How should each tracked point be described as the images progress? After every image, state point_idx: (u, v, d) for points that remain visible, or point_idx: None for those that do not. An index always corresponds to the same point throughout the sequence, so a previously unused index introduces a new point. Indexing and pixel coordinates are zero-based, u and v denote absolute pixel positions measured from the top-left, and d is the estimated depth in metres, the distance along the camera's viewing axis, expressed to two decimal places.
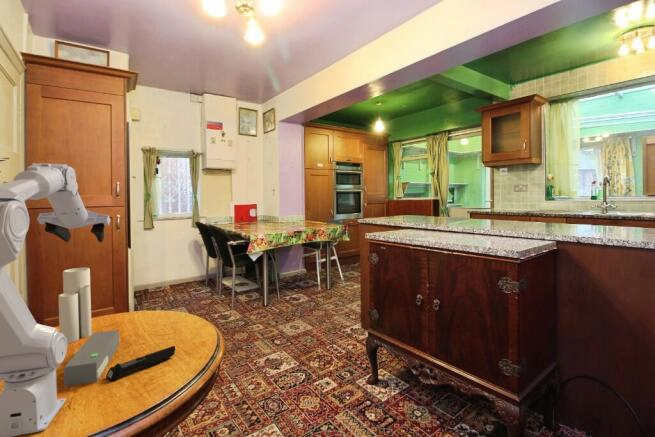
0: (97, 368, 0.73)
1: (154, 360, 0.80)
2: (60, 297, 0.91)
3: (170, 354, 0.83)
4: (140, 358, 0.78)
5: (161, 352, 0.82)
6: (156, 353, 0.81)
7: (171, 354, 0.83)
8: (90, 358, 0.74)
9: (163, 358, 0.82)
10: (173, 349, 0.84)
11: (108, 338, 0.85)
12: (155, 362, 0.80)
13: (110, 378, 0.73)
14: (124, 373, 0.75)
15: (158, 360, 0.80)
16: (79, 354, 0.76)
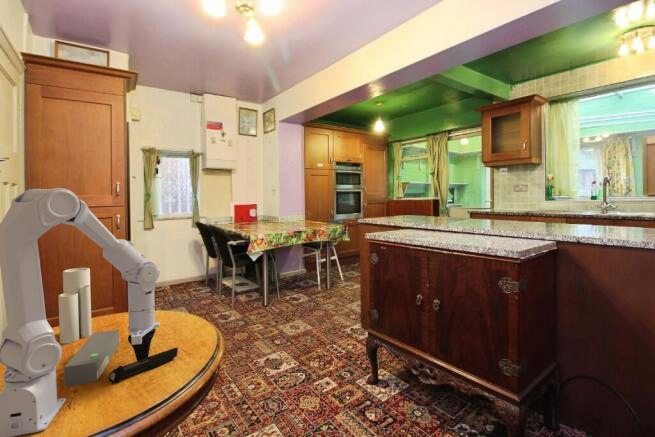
0: (97, 368, 0.73)
1: (156, 362, 0.79)
2: (60, 297, 0.91)
3: (173, 356, 0.82)
4: (143, 360, 0.78)
5: (164, 354, 0.81)
6: (159, 355, 0.80)
7: (174, 356, 0.83)
8: (90, 358, 0.74)
9: (166, 360, 0.81)
10: (176, 351, 0.84)
11: (108, 338, 0.85)
12: (158, 364, 0.79)
13: (113, 380, 0.72)
14: (127, 375, 0.74)
15: (160, 362, 0.80)
16: (79, 354, 0.76)
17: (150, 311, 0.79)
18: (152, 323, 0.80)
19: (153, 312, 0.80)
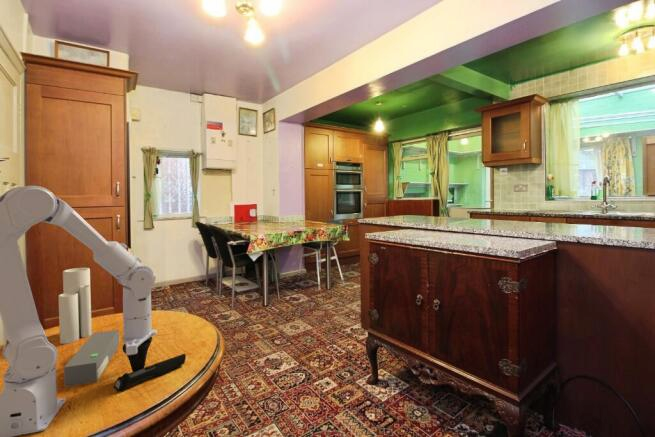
0: (97, 368, 0.73)
1: (163, 369, 0.76)
2: (60, 297, 0.91)
3: (180, 363, 0.79)
4: (149, 367, 0.74)
5: (171, 360, 0.78)
6: (166, 362, 0.77)
7: (181, 363, 0.79)
8: (90, 358, 0.74)
9: (173, 367, 0.77)
10: (183, 357, 0.80)
11: (108, 338, 0.85)
12: (165, 371, 0.76)
13: (118, 389, 0.69)
14: (132, 383, 0.71)
15: (168, 369, 0.76)
16: (79, 354, 0.76)
17: (146, 318, 0.74)
18: (148, 331, 0.75)
19: (150, 319, 0.75)
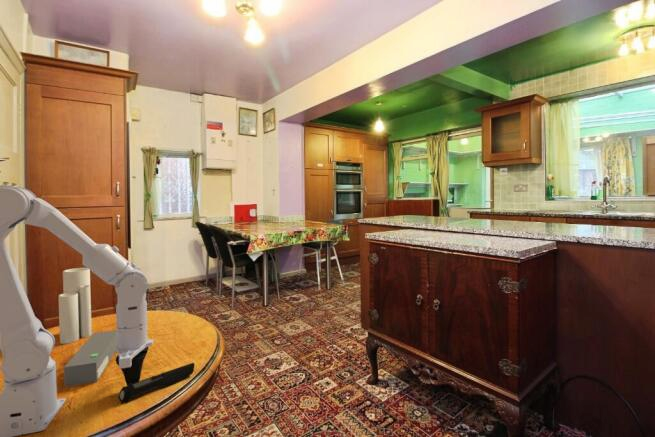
0: (97, 368, 0.73)
1: (170, 379, 0.71)
2: (60, 297, 0.91)
3: (188, 372, 0.74)
4: (155, 377, 0.70)
5: (179, 370, 0.73)
6: (173, 371, 0.73)
7: (190, 372, 0.75)
8: (90, 358, 0.74)
9: (181, 377, 0.73)
10: (192, 367, 0.76)
11: (108, 338, 0.85)
12: (172, 382, 0.71)
13: (121, 400, 0.65)
14: (137, 394, 0.67)
15: (175, 379, 0.72)
16: (79, 354, 0.76)
17: (142, 328, 0.68)
18: (144, 341, 0.69)
19: (145, 328, 0.70)
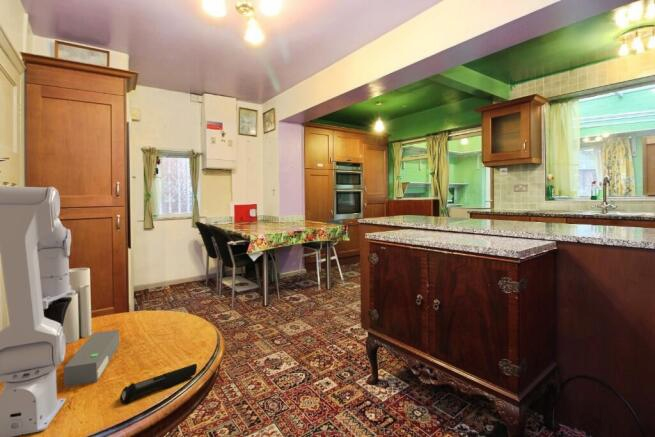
0: (97, 368, 0.73)
1: (172, 380, 0.71)
2: None
3: (191, 373, 0.74)
4: (157, 377, 0.70)
5: (181, 371, 0.73)
6: (175, 372, 0.72)
7: (192, 373, 0.74)
8: (90, 358, 0.74)
9: (183, 378, 0.72)
10: (194, 368, 0.75)
11: (108, 338, 0.85)
12: (174, 382, 0.71)
13: (123, 400, 0.65)
14: (139, 395, 0.66)
15: (177, 380, 0.71)
16: (79, 354, 0.76)
17: (62, 278, 0.77)
18: (65, 290, 0.78)
19: (66, 279, 0.79)
